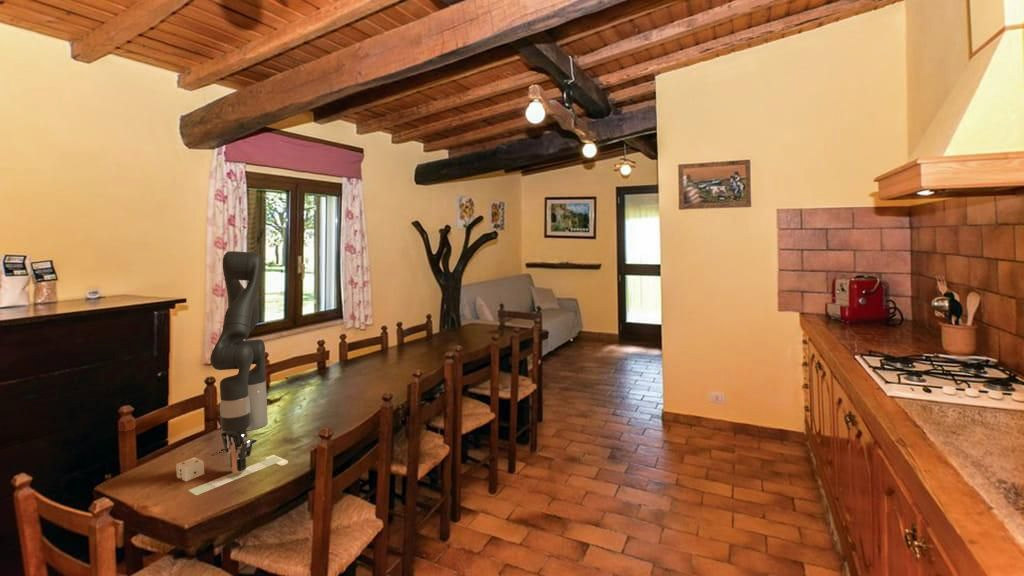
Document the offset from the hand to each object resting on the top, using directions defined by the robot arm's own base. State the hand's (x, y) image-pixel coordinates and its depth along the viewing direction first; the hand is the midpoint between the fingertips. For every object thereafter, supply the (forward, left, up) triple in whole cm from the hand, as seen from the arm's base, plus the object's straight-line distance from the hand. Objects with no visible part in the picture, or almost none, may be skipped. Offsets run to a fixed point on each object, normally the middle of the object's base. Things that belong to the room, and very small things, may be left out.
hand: (238, 468), depth 137 cm
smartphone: (-21, +9, -3) cm, 23 cm away
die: (-11, -8, -3) cm, 14 cm away
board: (0, 0, -3) cm, 3 cm away
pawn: (0, 0, -1) cm, 1 cm away
